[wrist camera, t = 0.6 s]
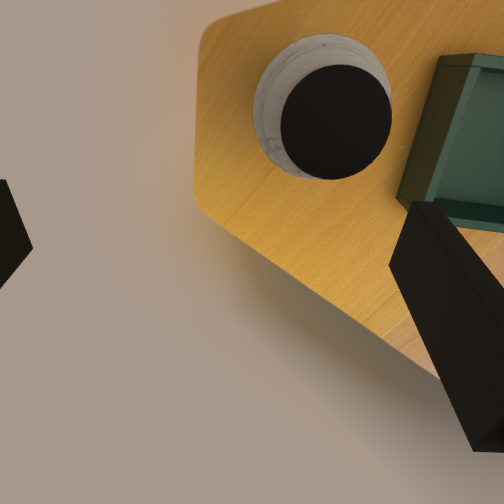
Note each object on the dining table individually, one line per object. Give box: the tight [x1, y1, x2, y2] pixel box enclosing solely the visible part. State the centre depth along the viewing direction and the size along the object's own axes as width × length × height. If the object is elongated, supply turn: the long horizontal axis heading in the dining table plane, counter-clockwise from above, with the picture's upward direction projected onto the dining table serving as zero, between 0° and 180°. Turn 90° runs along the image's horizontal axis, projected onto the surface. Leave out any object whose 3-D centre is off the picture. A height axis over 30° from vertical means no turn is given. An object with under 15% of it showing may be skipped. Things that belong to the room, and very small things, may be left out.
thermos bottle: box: [253, 33, 392, 180], centre depth 28 cm, size 8×8×28 cm
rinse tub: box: [396, 53, 504, 233], centre depth 38 cm, size 16×16×8 cm
